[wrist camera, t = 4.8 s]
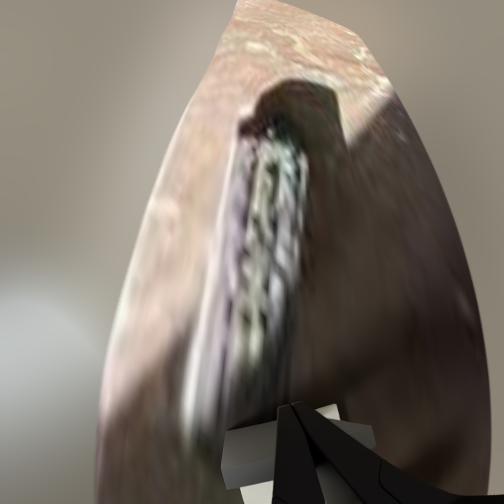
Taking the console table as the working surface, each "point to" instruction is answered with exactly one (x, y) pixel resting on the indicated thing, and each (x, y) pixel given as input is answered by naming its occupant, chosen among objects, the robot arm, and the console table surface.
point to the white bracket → (269, 455)
